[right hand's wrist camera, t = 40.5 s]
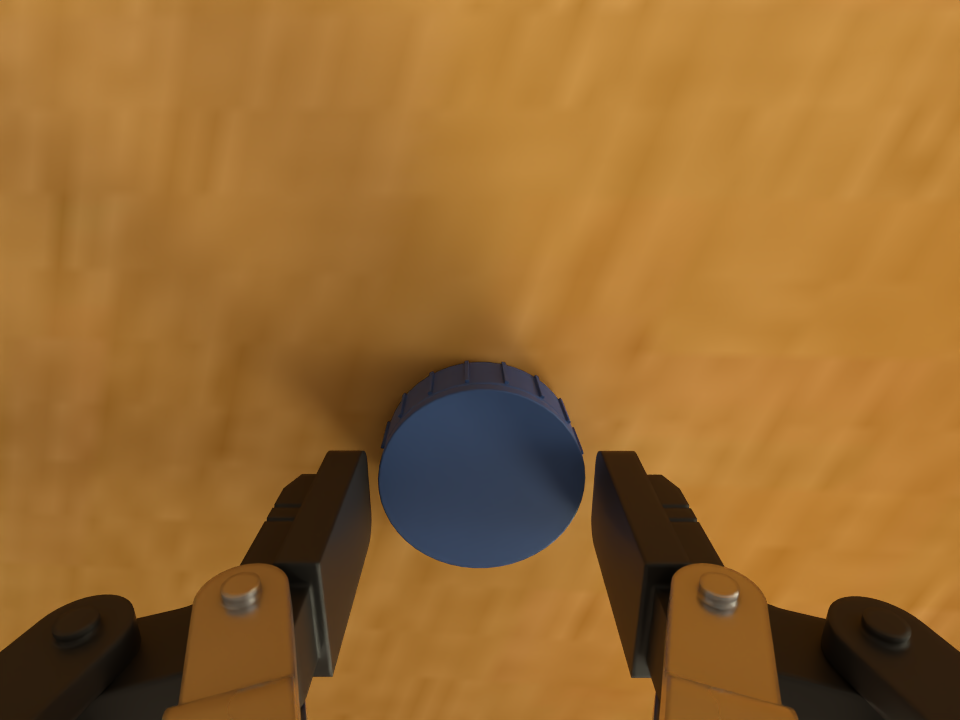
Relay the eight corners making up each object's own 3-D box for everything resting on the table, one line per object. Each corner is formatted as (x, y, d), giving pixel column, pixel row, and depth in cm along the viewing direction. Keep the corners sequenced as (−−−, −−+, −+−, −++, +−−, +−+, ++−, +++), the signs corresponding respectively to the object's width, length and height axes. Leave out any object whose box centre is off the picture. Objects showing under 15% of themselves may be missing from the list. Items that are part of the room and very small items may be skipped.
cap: (454, 320, 13) (452, 344, 11) (612, 423, 14) (631, 458, 12) (350, 469, 14) (336, 509, 12) (502, 554, 15) (507, 600, 13)
